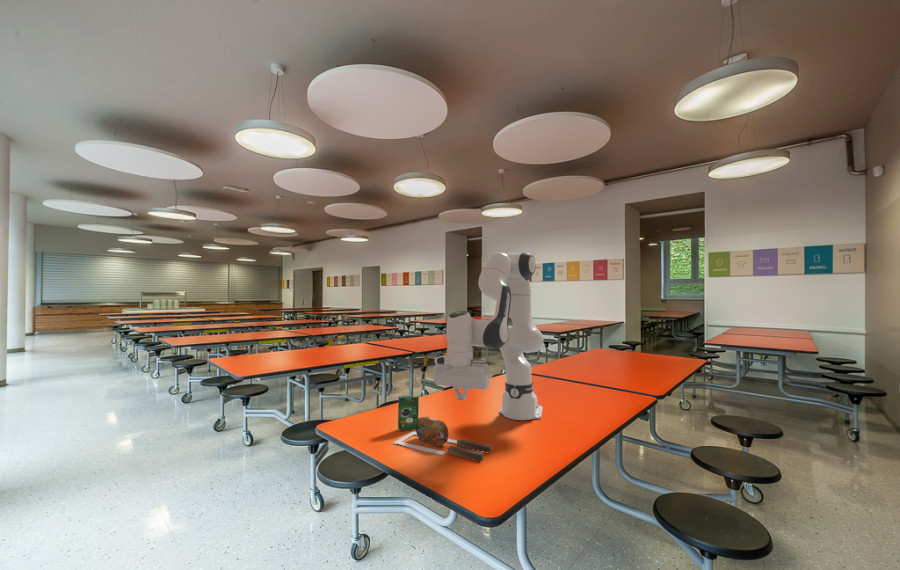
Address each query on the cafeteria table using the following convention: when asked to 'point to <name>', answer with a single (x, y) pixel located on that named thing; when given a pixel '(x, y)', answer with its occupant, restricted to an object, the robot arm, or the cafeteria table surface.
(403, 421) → the coffee box
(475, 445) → the dark brown parallel bars
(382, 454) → the cafeteria table surface
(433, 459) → the cafeteria table surface
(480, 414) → the cafeteria table surface
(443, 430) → the tin
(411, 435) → the frame
